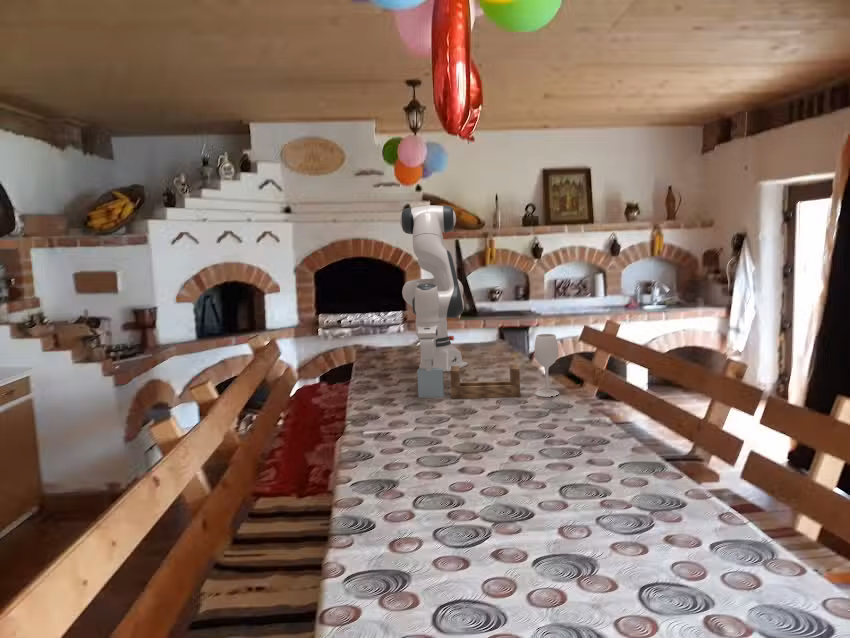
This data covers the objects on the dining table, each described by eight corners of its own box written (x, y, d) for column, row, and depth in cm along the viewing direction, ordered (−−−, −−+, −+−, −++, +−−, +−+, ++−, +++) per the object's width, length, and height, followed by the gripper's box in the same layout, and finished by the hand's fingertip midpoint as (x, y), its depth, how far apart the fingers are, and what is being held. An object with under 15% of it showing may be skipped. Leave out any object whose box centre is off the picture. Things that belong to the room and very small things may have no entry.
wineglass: (558, 390, 234) (557, 332, 232) (561, 396, 226) (559, 336, 223) (533, 391, 235) (532, 333, 233) (535, 397, 227) (534, 337, 224)
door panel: (444, 394, 237) (442, 367, 235) (443, 397, 233) (442, 369, 232) (419, 395, 237) (418, 368, 236) (418, 398, 234) (417, 370, 233)
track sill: (518, 391, 236) (518, 364, 235) (520, 397, 228) (519, 368, 227) (452, 393, 238) (451, 366, 237) (451, 398, 230) (450, 371, 229)
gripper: (421, 326, 242) (423, 363, 244) (416, 333, 222) (418, 374, 224) (438, 325, 242) (440, 362, 243) (435, 333, 222) (437, 373, 223)
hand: (430, 368), depth 233 cm, fingers open, 8 cm apart
